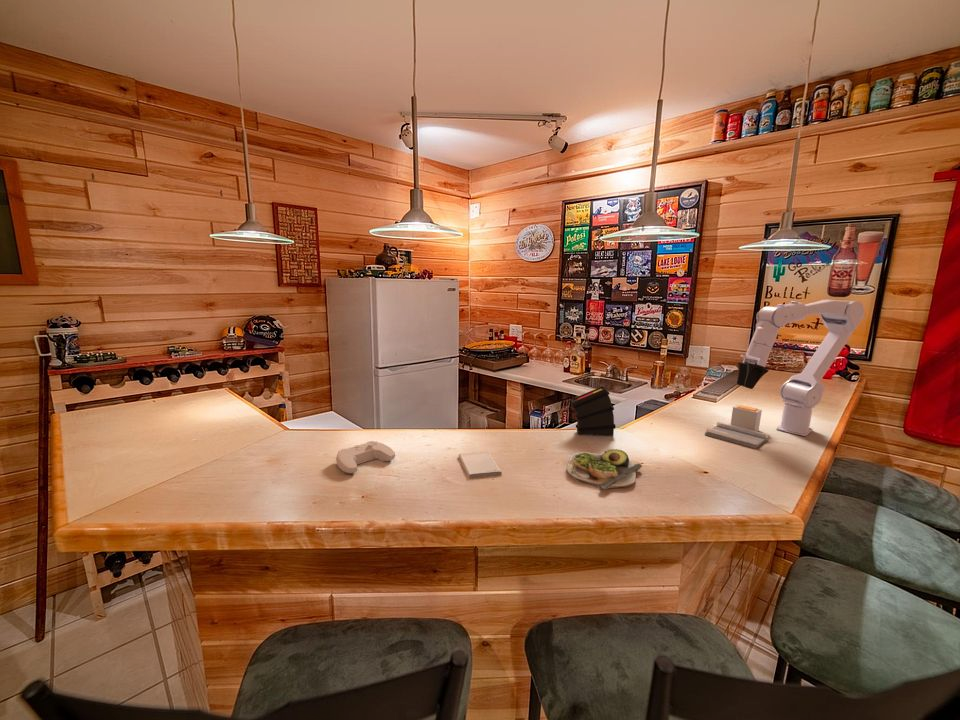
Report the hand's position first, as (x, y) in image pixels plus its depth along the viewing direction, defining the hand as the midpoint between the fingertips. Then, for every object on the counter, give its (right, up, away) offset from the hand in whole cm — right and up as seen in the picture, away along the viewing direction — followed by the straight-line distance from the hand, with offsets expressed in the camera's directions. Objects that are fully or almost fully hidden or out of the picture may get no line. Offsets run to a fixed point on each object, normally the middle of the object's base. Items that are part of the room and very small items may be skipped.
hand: (744, 386), depth 130 cm
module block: (+5, -14, +8) cm, 18 cm away
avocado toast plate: (-51, -20, -24) cm, 60 cm away
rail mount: (-2, -16, +1) cm, 16 cm away
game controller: (-111, -19, -22) cm, 115 cm away
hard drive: (-82, -20, -22) cm, 87 cm away
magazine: (-47, -15, +1) cm, 49 cm away
